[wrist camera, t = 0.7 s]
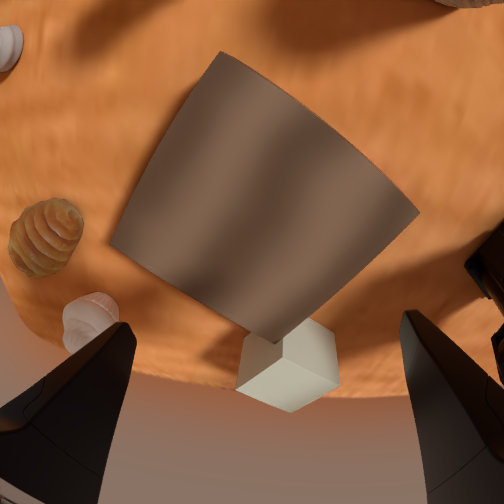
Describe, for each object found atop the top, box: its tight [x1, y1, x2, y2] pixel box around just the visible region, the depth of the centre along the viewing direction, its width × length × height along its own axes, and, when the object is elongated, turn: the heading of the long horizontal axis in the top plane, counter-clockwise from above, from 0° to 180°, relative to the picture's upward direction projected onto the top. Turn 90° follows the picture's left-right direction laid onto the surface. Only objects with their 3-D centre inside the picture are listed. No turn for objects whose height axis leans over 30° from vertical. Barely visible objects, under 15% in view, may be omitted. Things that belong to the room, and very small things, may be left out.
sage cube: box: [235, 317, 340, 413], centre depth 25 cm, size 6×6×6 cm
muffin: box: [62, 292, 120, 355], centre depth 25 cm, size 6×6×7 cm
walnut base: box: [109, 51, 420, 344], centre depth 19 cm, size 14×14×4 cm
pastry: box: [8, 198, 84, 278], centre depth 23 cm, size 9×7×4 cm
